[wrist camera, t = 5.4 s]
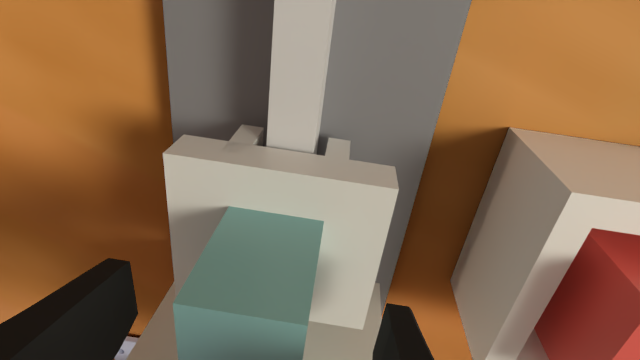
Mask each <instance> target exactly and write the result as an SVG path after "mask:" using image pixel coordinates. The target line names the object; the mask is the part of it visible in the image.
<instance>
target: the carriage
mask: <svg viewBox="0 0 640 360" xmlns="http://www.w3.org/2000/svg"><path fill="white" fill-rule="evenodd" d="M263 132H264V128H263V127H256V126H250V125H243V124H242V125H241V126H240V128H239V129H238V130H237V131H236V133H235V134H234V135H233V136H232V138H231V139H230V140H229V141H224V140H217V139H211V138H204V137H198V136H191V135H185V134H184V135H183V136H181V137H180V138H179V139H178V140H177V141H176V142H175V143H174V144H172V145H171V146H170V147H169V148H168V149H167V150H166V151H165V152H163V162H164V173H165V184H166V195H167V206H168V217H169V228H170V239H171V250H172V261H173V272H174V283H175V294H176V298H175V300H174V302H173V313H174V323H175V333H176V343H177V354H178V360H303V354H304V348H305V341H306V335H307V329H308V322H309V321H313V322H319V323H325V324H331V325H337V326H343V327H349V328H355V329H361V330H363V327H364V323H365V319H366V315H367V312H368V308H369V304H370V300H371V296H372V292H373V288H374V284H375V281H376V277H377V273H378V269H379V265H380V261H381V257H382V253H383V250H384V246H385V242H386V238H387V234H388V230H389V226H390V222H391V218H392V215H393V211H394V207H395V203H396V199H397V195H398V191H399V187H398V181H397V175H396V169H395V166H388V165H382V164H375V163H368V162H362V161H355V160H349V156H350V142H351V141H349V140H342V139H336V138H329V139H328V143H327V148H326V153H325V156H322V155H316V154H309V153H303V152H296V151H290V150H283V149H277V148H270V147H263Z"/></svg>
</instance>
